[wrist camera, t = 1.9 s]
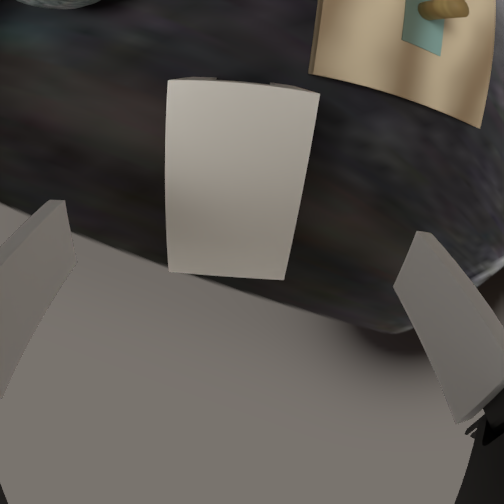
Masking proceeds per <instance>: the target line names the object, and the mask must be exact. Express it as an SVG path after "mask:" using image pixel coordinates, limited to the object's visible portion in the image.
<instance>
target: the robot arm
mask: <svg viewBox="0 0 504 504" xmlns="http://www.w3.org/2000/svg"><path fill="white" fill-rule="evenodd" d="M76 264H77V258H76V253H75V249H74V245H73V240H72V236H71V231H70V226H69V221H68V216H67V210H66V204H65V200H49V201H47V202H46V203H45V204H44V205H43V206H42V207H41V208H39V209H38V210H37V211H36V212H35V213H34V214H33V215H32V216H31V217H30V218H29V219H28V220H27V221H25V222H24V223H23V224H22V225H21V226H20V227H19V228H18V229H17V230H16V231H15V232H14V233H13V234H12V235H11V236H10V237H9V238H8V239H7V240H6V242H4V243H3V244H2V245H1V246H0V399H2V398H3V396H4V393H5V391H6V389H7V386H8V384H9V382H10V380H11V377H12V375H13V373H14V371H15V369H16V367H17V365H18V363H19V361H20V359H21V357H22V355H23V353H24V351H25V349H26V347H27V345H28V343H29V341H30V339H31V337H32V335H33V334H34V332H35V330H36V328H37V327H38V325H39V323H40V321H41V319H42V318H43V316H44V314H45V313H46V311H47V309H48V308H49V306H50V304H51V302H52V301H53V299H54V298H55V296H56V294H57V293H58V291H59V289H60V288H61V286H62V285H63V283H64V282H65V280H66V279H67V277H68V275H69V274H70V272H71V271H72V270H73V268H74V267H75V265H76ZM393 288H394V290H395V292H396V294H397V295H398V297H399V299H400V301H401V303H402V305H403V307H404V309H405V311H406V313H407V315H408V317H409V319H410V321H411V323H412V325H413V327H414V329H415V330H416V333H417V334H418V337H419V339H420V341H421V343H422V345H423V347H424V349H425V352H426V354H427V356H428V358H429V360H430V363H431V365H432V367H433V369H434V372H435V374H436V376H437V379H438V381H439V383H440V386H441V388H442V391H443V393H444V396H445V398H446V401H447V403H448V406H449V408H450V411H451V414H452V416H453V419H454V422H455V424H457V423H461V422H463V421H466V420H469V419H471V418H472V417H474V416H475V415H476V414H477V413H478V412H479V411H480V410H481V409H484V412H485V414H484V415H483V416H482V417H481V418H480V419H479V420H477V421H476V422H475V423H474V424H472V425H471V426H470V427H469V428H468V429H467V430H466V432H465V434H466V435H468V434H469V433H470V432H471V431H473V430H474V429H475V428H477V430H476V431H475V432H473V433H472V434H471V437H472V438H474V439H475V441H474V446H473V449H472V453H471V456H470V460H469V463H468V467H467V470H466V473H465V476H464V479H463V482H462V485H461V488H460V490H459V493H458V496H457V498H456V501H455V504H504V327H503V326H502V324H501V322H500V321H499V319H498V318H497V316H496V315H495V313H494V312H493V311H492V309H491V308H490V306H489V305H488V303H487V302H486V301H485V300H484V298H483V297H482V295H481V294H480V292H479V291H478V290H477V288H476V287H475V286H474V284H473V283H472V282H471V280H470V279H469V278H468V276H467V275H466V274H465V273H464V271H463V270H462V269H461V268H460V266H459V265H458V264H457V263H456V261H455V260H454V259H453V258H452V257H451V255H450V254H449V253H448V252H447V251H446V249H445V248H444V247H443V246H442V245H441V244H440V242H439V241H438V240H437V239H436V238H435V237H434V236H433V234H432V233H428V232H422V231H416V234H415V236H414V239H413V241H412V244H411V246H410V249H409V251H408V254H407V256H406V258H405V261H404V263H403V265H402V268H401V270H400V272H399V274H398V277H397V279H396V281H395V283H394V285H393ZM0 504H8V502H7V500H6V497H5V495H4V493H3V490H2V487H1V484H0Z"/></svg>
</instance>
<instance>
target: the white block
mask: <svg viewBox="0 0 504 504" xmlns="http://www.w3.org/2000/svg"><path fill="white" fill-rule="evenodd" d="M216 79H217V78H212V77H187V78H179V79H172V80H168V88H167V106H166V133H165V207H166V235H167V255H168V270H169V272H175V273H187V274H200V275H213V276H227V277H241V278H257V279H273V280H284V277H285V273H286V268H287V264H288V259H289V254H290V250H291V245H292V240H293V236H294V231H295V226H296V221H297V216H298V212H299V207H300V202H301V197H302V192H303V186H304V181H305V176H306V171H307V166H308V160H309V155H310V149H311V144H312V138H313V133H314V127H315V121H316V115H317V109H318V103H319V97H320V94H319V93H316V92H312V91H309V90H306V89H303V88H299V87H296V86H291V85H285V84H278V83H270V85H269V84H260V83H251V82H240V81H227V80H216Z"/></svg>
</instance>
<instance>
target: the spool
mask: <svg viewBox="0 0 504 504" xmlns="http://www.w3.org/2000/svg"><path fill="white" fill-rule="evenodd" d="M17 1H19V2H22V3H24V4H27V5H31V6H35V7H41V8H49V9H76V8H80V7H84V6H87V5H91V4H94V3H97V2H98V1H100V0H17Z"/></svg>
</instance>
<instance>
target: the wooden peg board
mask: <svg viewBox="0 0 504 504" xmlns="http://www.w3.org/2000/svg"><path fill="white" fill-rule="evenodd" d="M495 13H496V0H318V5H317V12H316V20H315V28H314V35H313V42H312V49H311V56H310V63H309V70H308V74H312V75H317V76H322V77H327V78H332V79H336V80H341V81H345V82H349V83H353V84H357V85H361V86H365V87H368V88H372V89H375V90H379V91H382V92H386V93H389V94H392V95H395V96H398V97H401V98H404V99H407V100H410V101H413V102H416V103H419V104H421V105H424V106H427V107H429V108H432V109H434V110H437V111H439V112H442V113H444V114H447V115H449V116H451V117H454V118H456V119H458V120H461V121H463V122H465V123H467V124H469V125H472V126H474V127H477V128H479V129H480V126H481V122H482V118H483V113H484V108H485V103H486V98H487V93H488V87H489V81H490V74H491V66H492V58H493V48H494V36H495Z"/></svg>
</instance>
